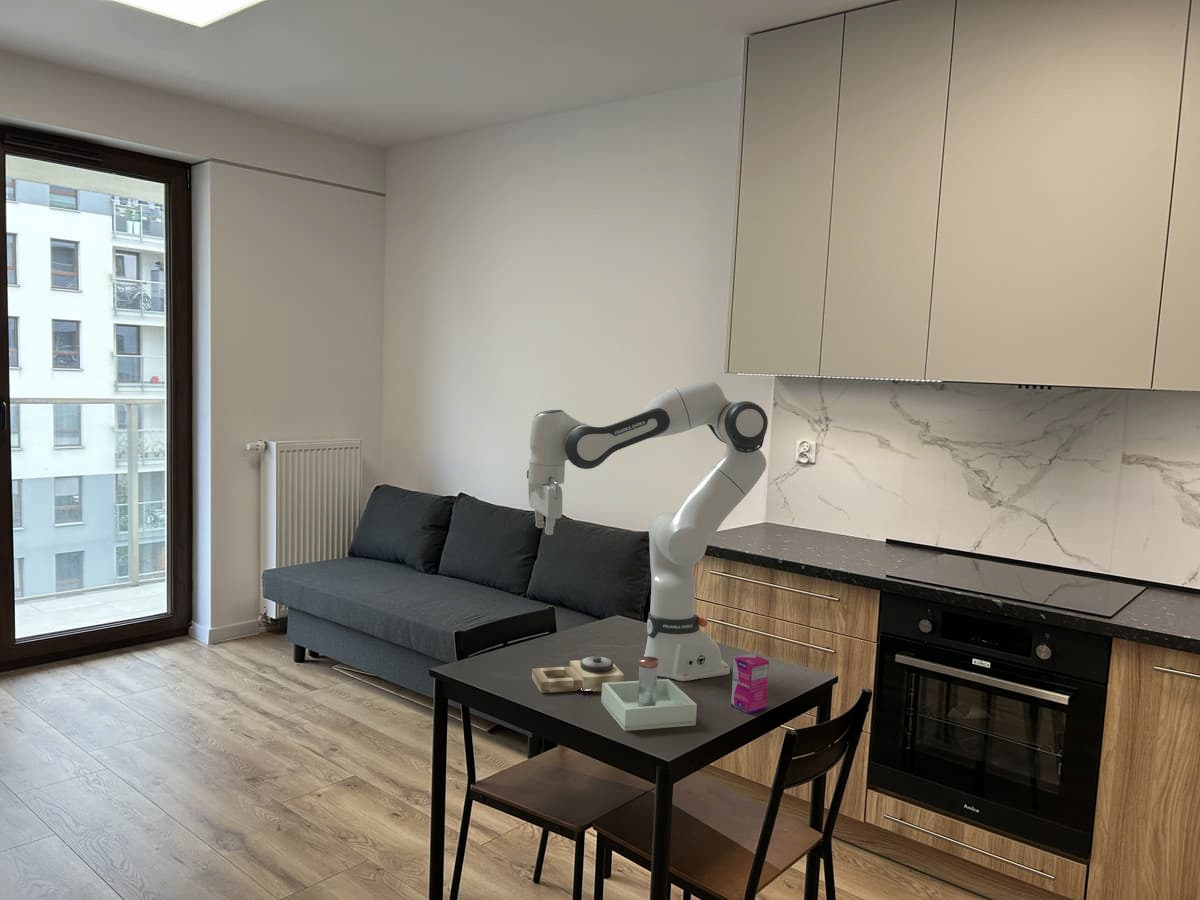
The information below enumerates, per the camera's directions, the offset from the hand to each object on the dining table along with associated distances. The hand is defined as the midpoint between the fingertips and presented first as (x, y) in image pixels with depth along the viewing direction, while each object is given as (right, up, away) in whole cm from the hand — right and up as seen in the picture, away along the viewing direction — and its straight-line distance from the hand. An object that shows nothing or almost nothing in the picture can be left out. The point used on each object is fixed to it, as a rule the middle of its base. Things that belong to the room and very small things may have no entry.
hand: (544, 530), depth 216 cm
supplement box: (+47, -38, -19) cm, 64 cm away
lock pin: (+24, -36, -26) cm, 51 cm away
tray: (+24, -37, -26) cm, 51 cm away
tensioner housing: (+8, -35, -9) cm, 37 cm away
